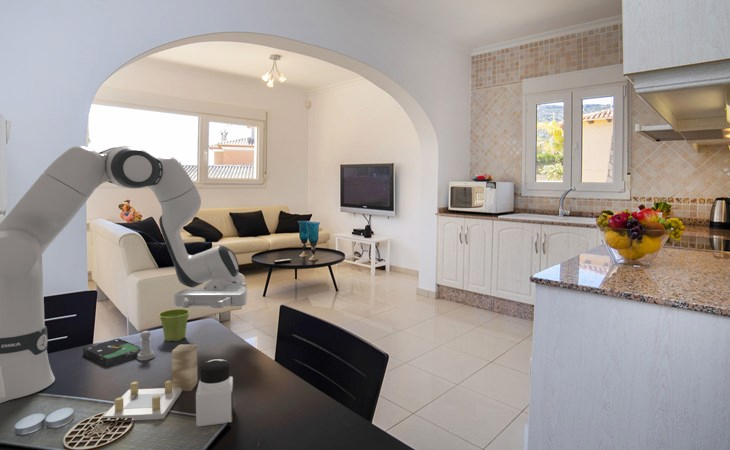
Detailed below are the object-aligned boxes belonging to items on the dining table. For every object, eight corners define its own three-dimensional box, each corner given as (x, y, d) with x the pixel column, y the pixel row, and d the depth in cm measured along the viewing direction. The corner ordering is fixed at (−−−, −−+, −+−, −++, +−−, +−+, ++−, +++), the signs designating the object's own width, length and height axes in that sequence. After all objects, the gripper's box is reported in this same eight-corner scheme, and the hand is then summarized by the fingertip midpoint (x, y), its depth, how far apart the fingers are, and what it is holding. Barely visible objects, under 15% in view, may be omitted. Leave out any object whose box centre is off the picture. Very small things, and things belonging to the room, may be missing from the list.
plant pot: (169, 345, 131) (169, 318, 130) (153, 339, 136) (152, 313, 135) (196, 337, 138) (195, 312, 138) (179, 332, 144) (179, 307, 143)
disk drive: (82, 356, 122) (107, 368, 114) (81, 347, 122) (106, 358, 114) (118, 346, 131) (144, 356, 123) (118, 337, 131) (144, 347, 123)
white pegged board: (103, 421, 87) (102, 404, 87) (128, 394, 99) (128, 379, 98) (163, 418, 88) (163, 402, 88) (181, 392, 100) (181, 377, 100)
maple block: (172, 390, 101) (171, 351, 100) (179, 382, 105) (179, 344, 104) (190, 390, 101) (190, 351, 100) (197, 382, 105) (196, 344, 105)
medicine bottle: (232, 422, 87) (232, 367, 86) (196, 427, 85) (195, 371, 84) (233, 406, 94) (232, 354, 93) (199, 410, 92) (198, 357, 91)
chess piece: (154, 353, 124) (154, 327, 123) (155, 359, 120) (154, 332, 119) (136, 356, 122) (136, 329, 121) (136, 362, 118) (136, 334, 117)
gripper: (184, 282, 127) (164, 293, 114) (251, 282, 128) (239, 293, 114) (184, 303, 128) (164, 316, 114) (251, 302, 128) (239, 315, 115)
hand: (202, 304), depth 114 cm, fingers open, 8 cm apart
